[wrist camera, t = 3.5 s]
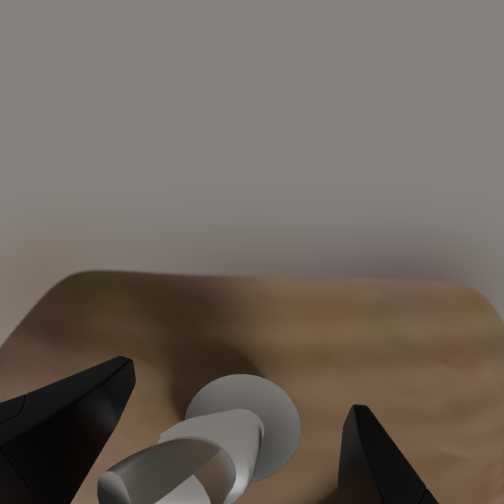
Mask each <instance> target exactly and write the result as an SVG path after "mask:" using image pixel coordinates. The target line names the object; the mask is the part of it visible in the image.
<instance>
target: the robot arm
mask: <svg viewBox="0 0 504 504" xmlns="http://www.w3.org/2000/svg"><path fill="white" fill-rule="evenodd" d="M135 383H136V377H135V371H134V364H133V361H132V360H131V359H129V358H126V357H123V356H118V357H115V358H113V359H111V360H108V361H106V362H104V363H101V364H99V365H96V366H94V367H92V368H89V369H87V370H84V371H82V372H80V373H77V374H75V375H72V376H70V377H67V378H65V379H62V380H60V381H57V382H55V383H52V384H50V385H47V386H45V387H42V388H40V389H37V390H34V391H32V392H29V393H27V395H26V394H24V395H21V396H19V397H16V398H13V399H10V400H7V401H5V402H1V403H0V504H70V503H71V502H72V500H73V498H74V496H75V495H76V493H77V491H78V490H79V488H80V486H81V484H82V483H83V481H84V479H85V478H86V476H87V474H88V473H89V471H90V469H91V467H92V466H93V464H94V462H95V461H96V459H97V457H98V456H99V454H100V452H101V451H102V449H103V447H104V446H105V444H106V442H107V441H108V439H109V437H110V436H111V434H112V432H113V431H114V429H115V427H116V425H117V424H118V422H119V420H120V417H121V415H122V413H123V411H124V408H125V406H126V404H127V402H128V400H129V397H130V395H131V393H132V391H133V389H134V386H135ZM338 504H439V503H438V502H437V500H436V499H435V498H434V496H433V495H432V494H431V492H430V491H429V489H426V486H425V484H424V483H423V481H422V480H421V479H420V477H419V476H418V475H417V473H416V472H415V470H414V469H413V468H412V466H411V465H410V464H409V462H408V461H407V459H406V458H405V457H404V455H403V454H402V453H401V451H400V450H399V449H398V447H397V446H396V444H395V443H394V442H393V440H392V439H391V438H390V436H389V435H388V433H387V432H386V431H385V429H384V428H383V427H382V425H381V424H380V423H379V421H378V420H377V418H376V417H375V416H374V414H373V413H372V412H371V410H370V409H369V408H368V406H366V405H357V404H354V405H353V406H352V407H351V409H350V411H349V413H348V416H347V418H346V420H345V423H344V426H343V433H342V443H341V453H340V463H339V472H338Z"/></svg>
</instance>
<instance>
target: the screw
mask: <svg viewBox="0 0 504 504" xmlns="http://www.w3.org/2000/svg"><path fill="white" fill-rule="evenodd" d="M300 432H301V427H300V418H299V415H298V412H297V409H296V406H295V405H294V403H293V402H292V400H291V398H290V397H289V396H288V395H287V394H286V393H285V392H284V391H283V390H282V389H281V388H280V387H279V386H277V385H276V384H274V383H273V382H271V381H269V380H267V379H264V378H262V377H259V376H254V375H248V374H233V375H229V376H224V377H221V378H219V379H216V380H214V381H212V382H210V383H209V384H207V385H206V386H205V387H203V388H202V389H201V390H200V391H199V392H198V393H197V394H196V395H195V396H194V398H193V399H192V401H191V403H190V405H189V406H188V408H187V412H186V416H185V419H184V421H183V422H180V423H178V424H176V425H174V426H172V427H171V428H169V429H168V430H167V431H165V432H163V433H162V434H161V435H159V436H160V439H159V441H158V443H157V444H156V445H154V446H151V447H149V448H146V449H144V450H141V451H139V452H137V453H135V454H133V455H131V456H129V457H128V458H126V459H124V460H122V461H120V462H119V463H117V464H116V465H114V466H112V467H111V468H110V469H108V470H107V471H106V472H104V473H103V474H102V475H101V476H100V478H99V480H98V493H97V496H98V500H99V504H232V503H233V502H234V501H236V500H237V499H238V498H239V497H240V496H241V494H242V493H243V492H244V491H245V490H246V489H247V488H248V486H249V485H250V483H251V482H252V481H258V480H261V479H264V478H267V477H269V476H271V475H273V474H275V473H276V472H278V471H279V470H280V469H282V468H283V467H284V466H285V465H286V464H287V463H288V462H289V460H290V459H291V458H292V456H293V455H294V453H295V451H296V449H297V446H298V443H299V439H300Z"/></svg>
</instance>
